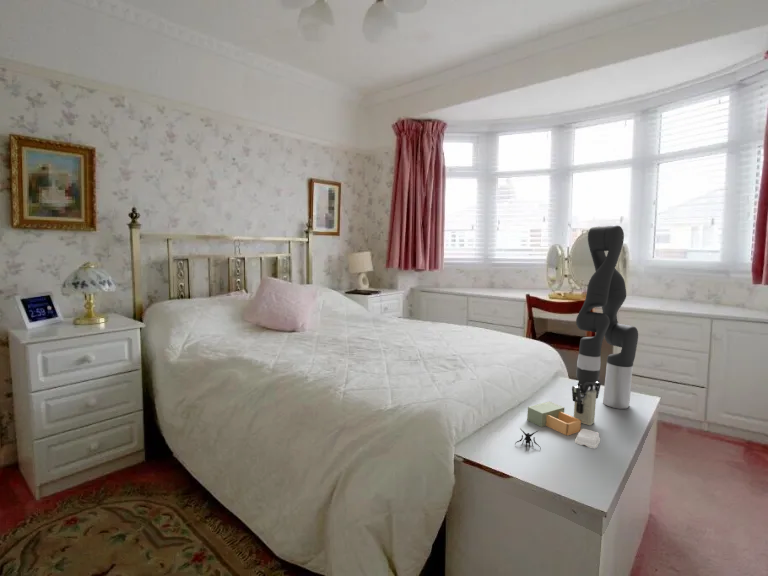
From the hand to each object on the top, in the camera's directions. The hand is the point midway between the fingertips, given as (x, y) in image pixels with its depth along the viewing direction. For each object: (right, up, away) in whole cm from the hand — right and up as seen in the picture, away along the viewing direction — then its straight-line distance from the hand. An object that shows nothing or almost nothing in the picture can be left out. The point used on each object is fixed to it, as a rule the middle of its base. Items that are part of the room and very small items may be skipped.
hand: (584, 411), depth 155 cm
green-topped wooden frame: (-12, -4, -3) cm, 13 cm away
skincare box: (0, -4, 0) cm, 4 cm away
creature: (-28, -6, -20) cm, 34 cm away
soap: (-6, -6, -14) cm, 17 cm away
